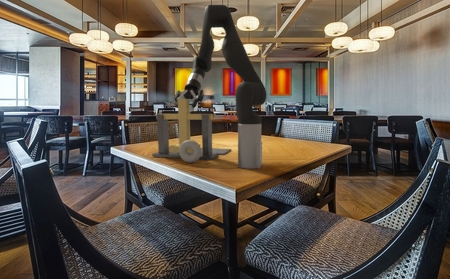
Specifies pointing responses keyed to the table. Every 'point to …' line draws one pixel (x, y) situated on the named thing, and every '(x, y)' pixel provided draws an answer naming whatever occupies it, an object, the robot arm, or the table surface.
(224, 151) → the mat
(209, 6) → the robot arm
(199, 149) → the donut
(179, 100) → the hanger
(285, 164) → the table surface
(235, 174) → the table surface
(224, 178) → the table surface
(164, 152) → the stand
